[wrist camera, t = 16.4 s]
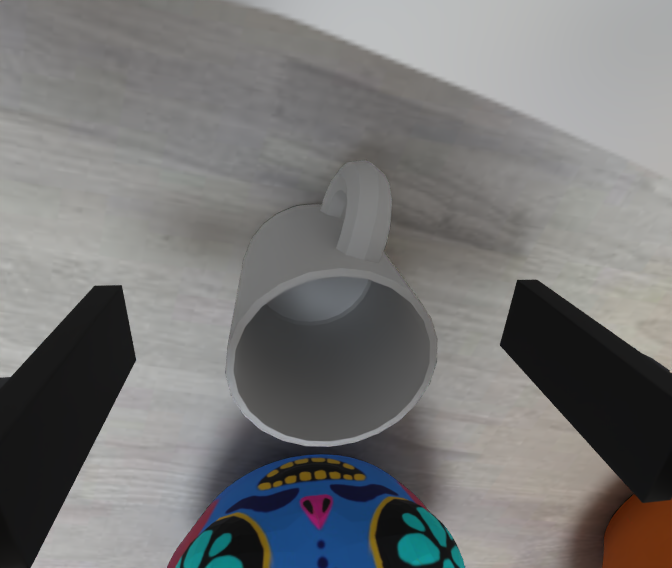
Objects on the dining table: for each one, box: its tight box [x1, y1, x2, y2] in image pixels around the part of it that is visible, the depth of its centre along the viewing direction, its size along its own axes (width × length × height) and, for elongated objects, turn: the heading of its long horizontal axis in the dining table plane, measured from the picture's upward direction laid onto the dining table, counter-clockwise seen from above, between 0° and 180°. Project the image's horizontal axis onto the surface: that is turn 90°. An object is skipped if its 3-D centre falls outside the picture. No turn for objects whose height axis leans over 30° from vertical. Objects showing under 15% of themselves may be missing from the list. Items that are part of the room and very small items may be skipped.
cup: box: [225, 160, 437, 447], centre depth 17 cm, size 7×10×9 cm
